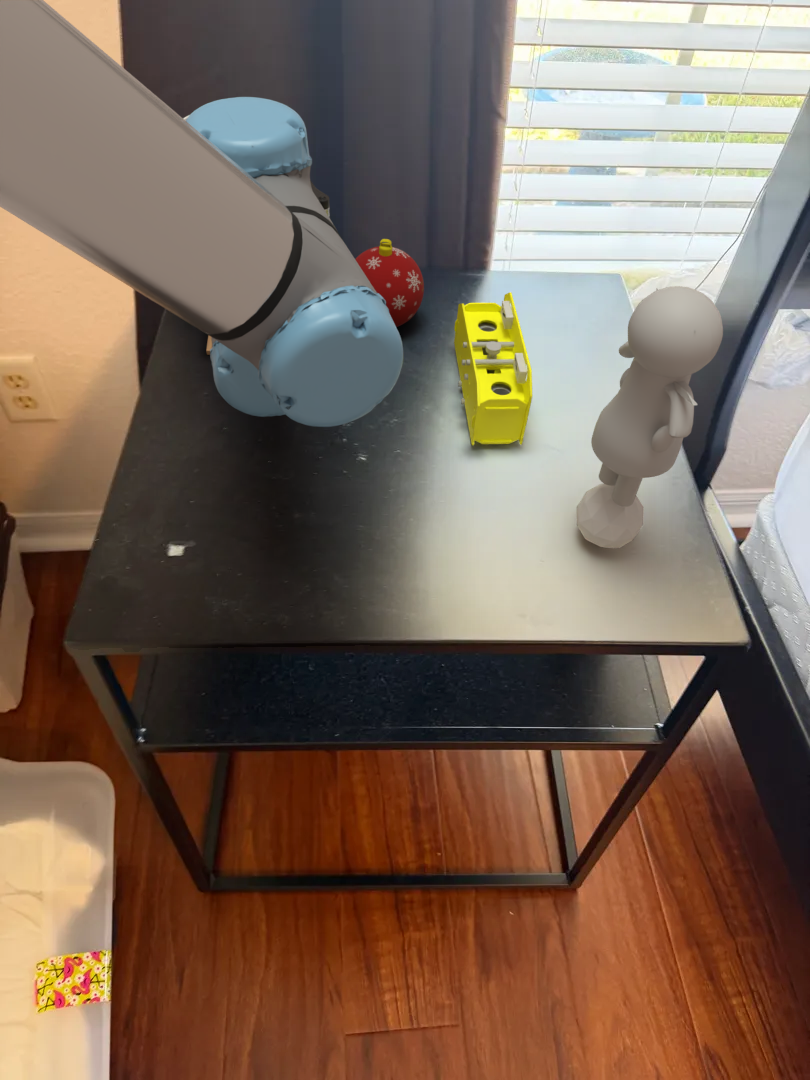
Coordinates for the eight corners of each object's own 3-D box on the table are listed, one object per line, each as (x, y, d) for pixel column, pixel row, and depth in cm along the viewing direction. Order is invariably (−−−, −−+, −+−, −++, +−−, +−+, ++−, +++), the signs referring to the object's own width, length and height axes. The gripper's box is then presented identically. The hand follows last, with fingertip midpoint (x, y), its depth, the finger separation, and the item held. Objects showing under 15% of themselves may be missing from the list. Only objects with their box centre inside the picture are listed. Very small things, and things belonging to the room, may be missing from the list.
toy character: (543, 500, 77) (605, 256, 58) (608, 487, 78) (690, 245, 59) (593, 590, 70) (682, 349, 51) (663, 573, 72) (775, 333, 53)
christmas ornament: (415, 349, 90) (421, 267, 83) (337, 339, 91) (336, 256, 83) (426, 304, 96) (432, 223, 88) (353, 294, 96) (353, 213, 89)
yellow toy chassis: (525, 450, 81) (540, 383, 75) (467, 451, 81) (477, 383, 74) (502, 348, 91) (513, 281, 85) (450, 348, 91) (458, 281, 84)
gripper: (184, 306, 69) (188, 168, 84) (341, 298, 70) (318, 164, 85) (168, 221, 63) (176, 89, 78) (340, 215, 65) (315, 87, 79)
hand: (250, 128), depth 82 cm, fingers closed
